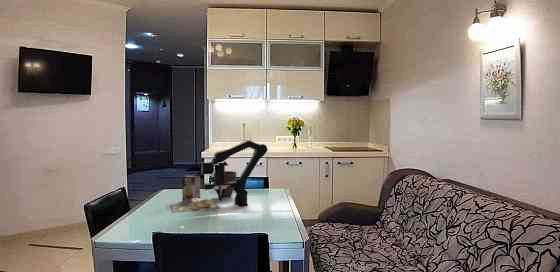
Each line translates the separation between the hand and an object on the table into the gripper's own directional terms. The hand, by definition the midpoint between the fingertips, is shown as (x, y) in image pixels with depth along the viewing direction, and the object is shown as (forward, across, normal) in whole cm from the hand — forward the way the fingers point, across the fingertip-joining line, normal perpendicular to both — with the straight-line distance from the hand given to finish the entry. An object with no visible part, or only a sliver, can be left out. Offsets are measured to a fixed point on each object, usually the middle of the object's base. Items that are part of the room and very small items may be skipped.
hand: (220, 200), depth 225 cm
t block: (+2, +11, 0) cm, 11 cm away
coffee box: (+4, +15, -18) cm, 23 cm away
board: (+4, +15, 0) cm, 15 cm away
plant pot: (+4, -7, -25) cm, 26 cm away
